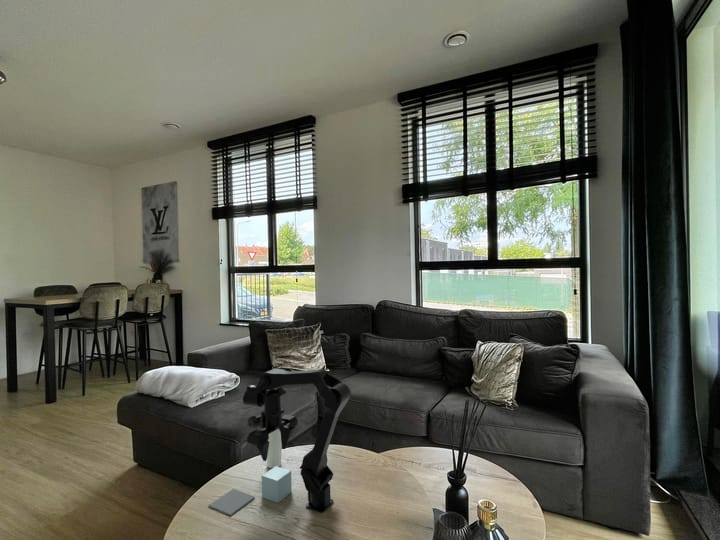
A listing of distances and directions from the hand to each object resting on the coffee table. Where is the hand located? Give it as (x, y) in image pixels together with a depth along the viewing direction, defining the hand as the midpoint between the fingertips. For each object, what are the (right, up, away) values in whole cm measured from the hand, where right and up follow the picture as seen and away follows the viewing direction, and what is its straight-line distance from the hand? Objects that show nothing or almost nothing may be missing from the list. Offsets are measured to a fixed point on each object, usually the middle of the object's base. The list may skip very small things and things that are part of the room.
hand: (274, 454), depth 122 cm
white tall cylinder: (-4, -13, +18) cm, 23 cm away
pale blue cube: (+1, -13, -1) cm, 13 cm away
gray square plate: (-13, -13, -5) cm, 19 cm away
